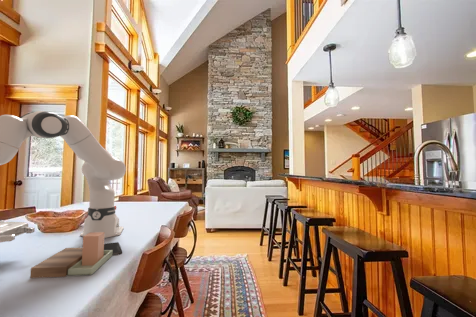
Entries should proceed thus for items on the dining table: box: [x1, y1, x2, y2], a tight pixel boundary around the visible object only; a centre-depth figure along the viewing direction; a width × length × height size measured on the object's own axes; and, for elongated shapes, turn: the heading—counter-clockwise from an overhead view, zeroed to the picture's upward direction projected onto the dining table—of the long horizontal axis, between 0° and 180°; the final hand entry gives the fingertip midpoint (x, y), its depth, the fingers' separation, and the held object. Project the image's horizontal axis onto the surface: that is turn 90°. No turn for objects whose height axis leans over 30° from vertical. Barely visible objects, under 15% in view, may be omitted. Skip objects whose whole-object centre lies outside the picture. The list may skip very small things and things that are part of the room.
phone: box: [104, 241, 123, 256], centre depth 100 cm, size 8×1×15 cm
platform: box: [29, 247, 83, 279], centre depth 84 cm, size 19×10×3 cm, turn 8°
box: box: [67, 250, 113, 277], centre depth 85 cm, size 18×7×2 cm, turn 8°
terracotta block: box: [82, 232, 105, 266], centre depth 85 cm, size 5×5×10 cm
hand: (23, 233), depth 84 cm, fingers open, 8 cm apart
